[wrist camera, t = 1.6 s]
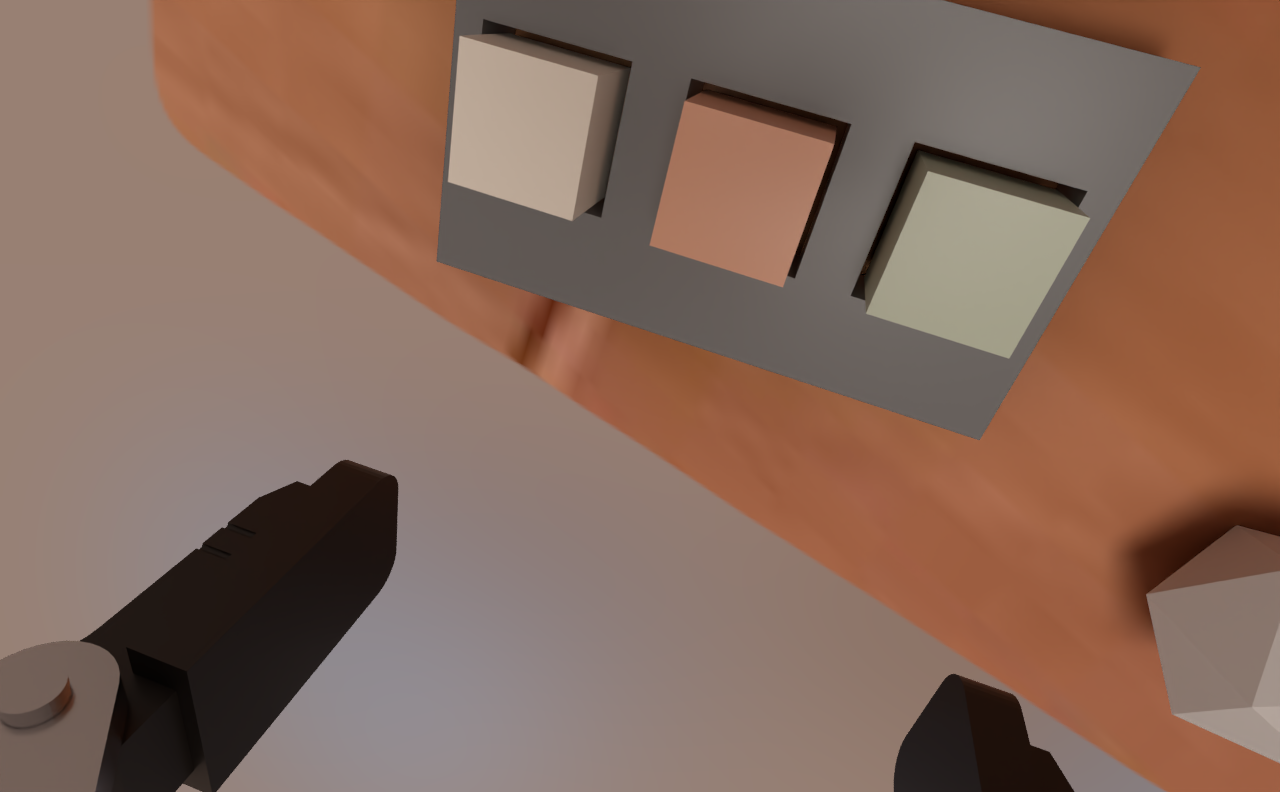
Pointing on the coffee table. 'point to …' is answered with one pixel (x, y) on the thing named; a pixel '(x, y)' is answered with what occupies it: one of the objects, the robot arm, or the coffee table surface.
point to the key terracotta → (741, 185)
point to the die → (1224, 639)
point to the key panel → (855, 190)
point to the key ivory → (535, 122)
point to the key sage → (970, 253)
